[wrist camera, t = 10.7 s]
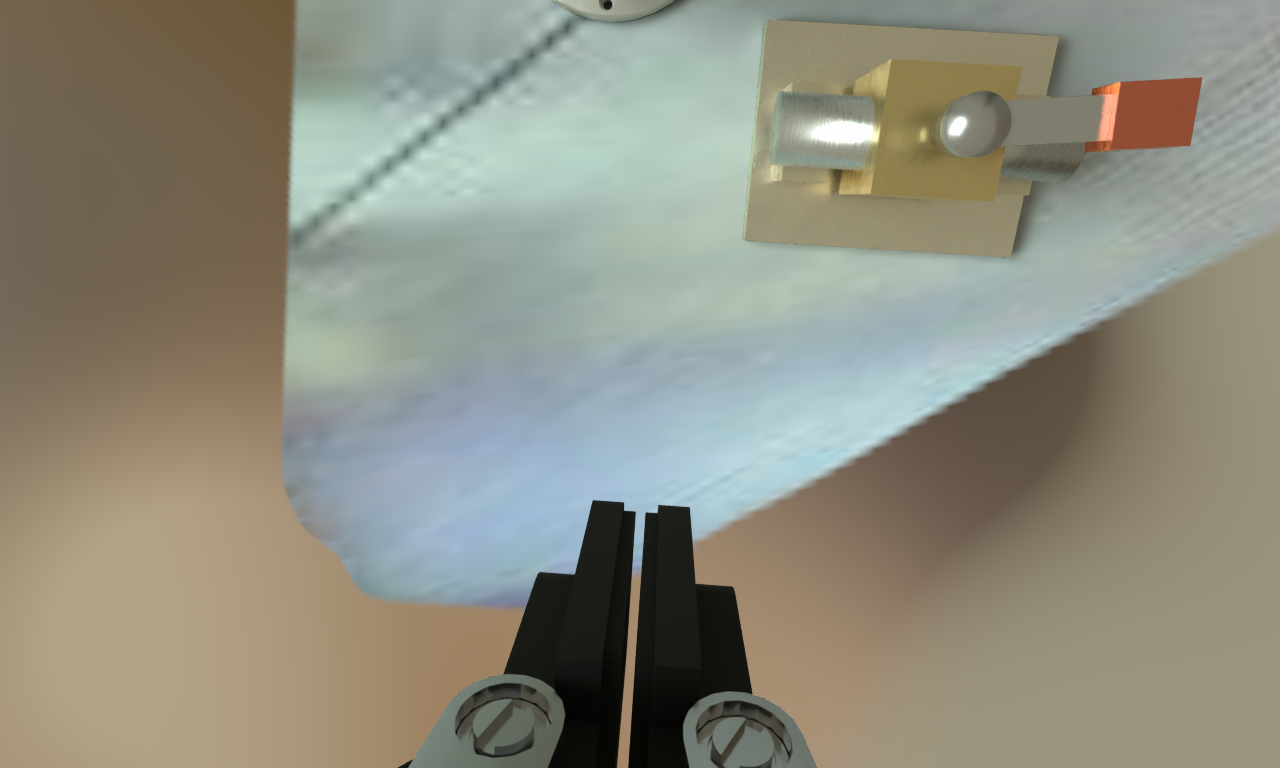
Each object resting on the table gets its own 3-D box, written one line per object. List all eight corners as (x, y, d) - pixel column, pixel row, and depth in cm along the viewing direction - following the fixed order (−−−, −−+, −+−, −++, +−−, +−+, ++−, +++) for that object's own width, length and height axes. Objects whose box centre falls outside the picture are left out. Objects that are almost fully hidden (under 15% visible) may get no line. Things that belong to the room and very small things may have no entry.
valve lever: (930, 160, 29) (947, 158, 27) (935, 98, 28) (952, 91, 27) (1158, 148, 29) (1190, 145, 27) (1169, 84, 28) (1202, 77, 26)
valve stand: (763, 26, 37) (799, -36, 27) (1043, 42, 37) (1185, -15, 27) (741, 238, 41) (766, 253, 31) (998, 255, 40) (1108, 275, 30)
